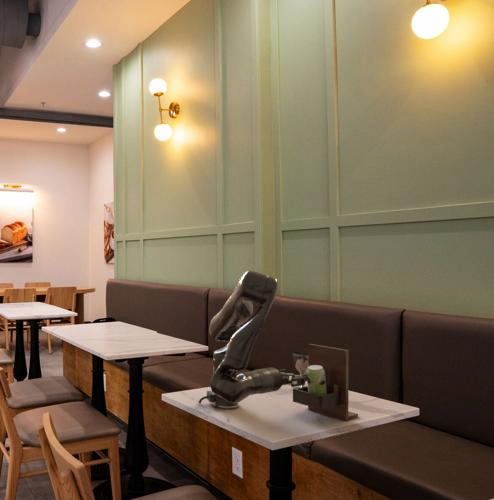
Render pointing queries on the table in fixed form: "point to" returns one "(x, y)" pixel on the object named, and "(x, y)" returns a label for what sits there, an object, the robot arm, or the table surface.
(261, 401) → the table surface
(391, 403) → the table surface
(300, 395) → the wooden backboard stand
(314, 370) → the beverage can
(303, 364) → the wine glass
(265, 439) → the table surface
